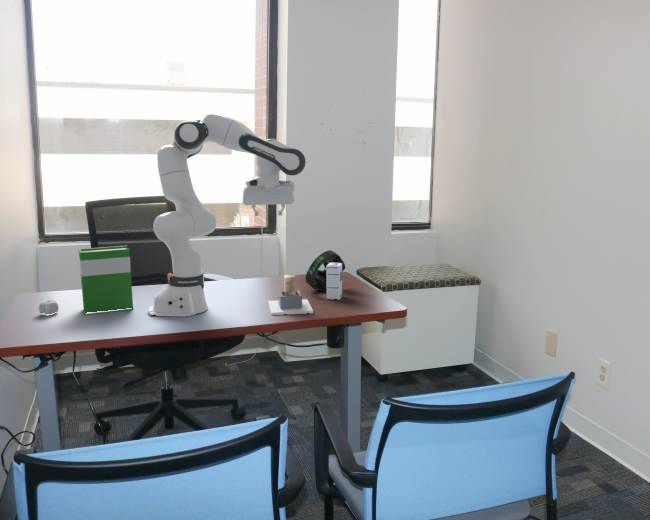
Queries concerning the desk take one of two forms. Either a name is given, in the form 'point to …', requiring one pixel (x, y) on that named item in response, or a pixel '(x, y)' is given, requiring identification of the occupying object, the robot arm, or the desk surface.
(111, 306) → the hardback book
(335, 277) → the syrup box
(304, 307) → the socket
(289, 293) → the peg
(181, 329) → the desk surface
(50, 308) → the die
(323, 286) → the headset
